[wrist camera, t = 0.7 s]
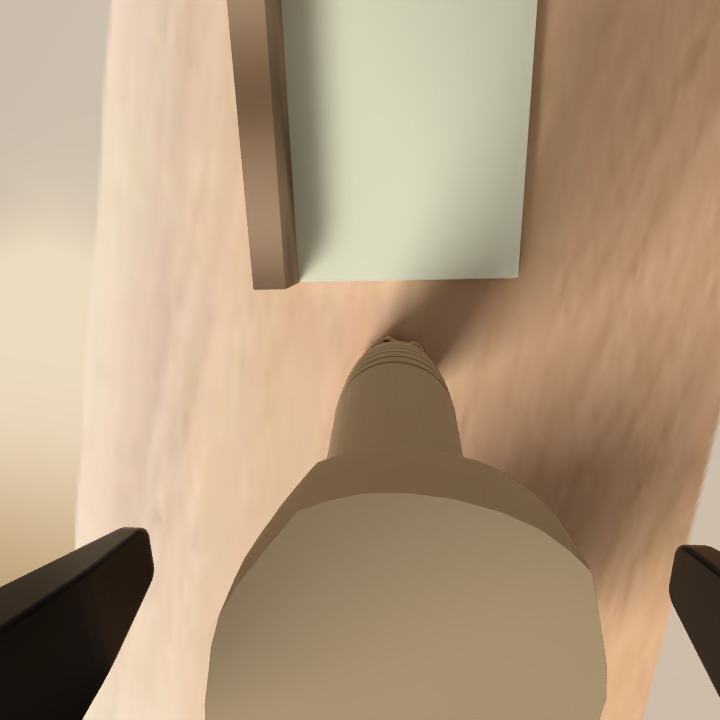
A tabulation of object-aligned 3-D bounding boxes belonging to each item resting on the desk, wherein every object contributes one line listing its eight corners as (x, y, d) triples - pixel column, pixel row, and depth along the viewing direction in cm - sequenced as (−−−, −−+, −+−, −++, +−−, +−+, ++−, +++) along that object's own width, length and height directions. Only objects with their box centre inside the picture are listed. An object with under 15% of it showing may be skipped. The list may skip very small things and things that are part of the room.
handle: (464, 309, 19) (682, 545, 5) (431, 442, 21) (512, 907, 6) (354, 288, 19) (232, 454, 5) (331, 422, 21) (189, 835, 7)
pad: (514, 276, 18) (518, 278, 18) (301, 280, 19) (299, 282, 19) (538, -77, 15) (543, -90, 15) (280, -57, 16) (276, -67, 15)
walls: (529, 276, 18) (553, 284, 16) (261, 281, 19) (237, 289, 16) (559, -123, 15) (599, -209, 12) (228, -94, 16) (191, -167, 13)
